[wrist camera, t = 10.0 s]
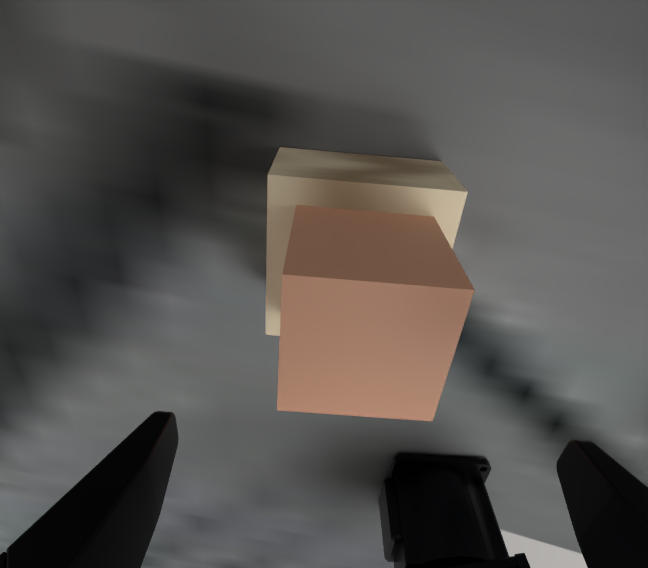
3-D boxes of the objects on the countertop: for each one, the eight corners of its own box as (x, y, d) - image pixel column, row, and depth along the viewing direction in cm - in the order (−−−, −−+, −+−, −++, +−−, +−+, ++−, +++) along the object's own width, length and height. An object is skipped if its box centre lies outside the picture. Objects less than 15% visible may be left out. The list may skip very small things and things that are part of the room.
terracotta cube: (434, 216, 15) (474, 290, 11) (408, 326, 18) (432, 421, 13) (296, 204, 15) (282, 274, 11) (290, 317, 18) (276, 410, 13)
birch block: (441, 161, 18) (467, 191, 15) (410, 296, 22) (425, 346, 18) (279, 147, 18) (267, 174, 14) (276, 286, 21) (265, 334, 18)
